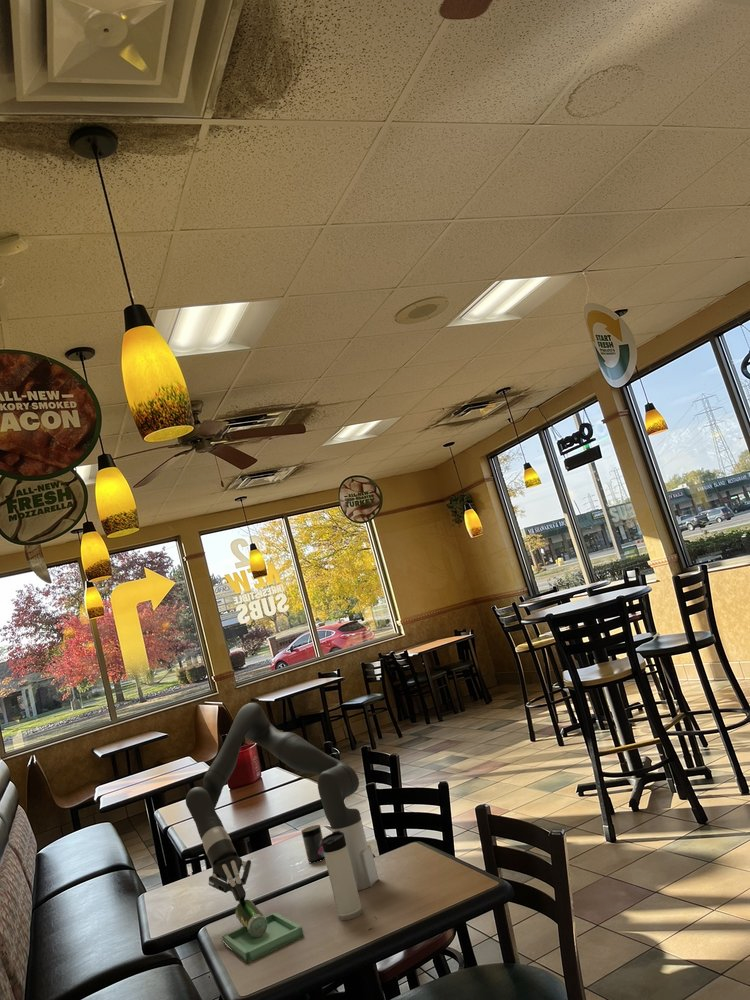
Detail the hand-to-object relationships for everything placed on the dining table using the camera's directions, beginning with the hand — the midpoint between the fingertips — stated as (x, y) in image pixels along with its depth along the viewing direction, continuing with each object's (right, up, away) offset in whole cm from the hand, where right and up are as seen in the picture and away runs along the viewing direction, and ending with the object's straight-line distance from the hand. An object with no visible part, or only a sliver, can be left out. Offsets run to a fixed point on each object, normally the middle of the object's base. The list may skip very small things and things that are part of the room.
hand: (242, 899), depth 196 cm
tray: (+7, -5, -10) cm, 13 cm away
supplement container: (+16, -15, +52) cm, 57 cm away
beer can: (0, -3, +2) cm, 4 cm away
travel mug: (+30, +1, -9) cm, 31 cm away
